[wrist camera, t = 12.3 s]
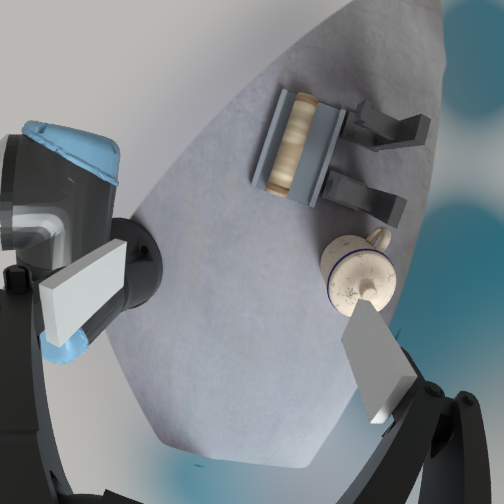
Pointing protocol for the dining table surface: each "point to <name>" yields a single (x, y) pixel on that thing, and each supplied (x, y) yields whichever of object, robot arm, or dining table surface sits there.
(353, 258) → the teacup with lid
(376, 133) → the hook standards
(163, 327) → the dining table surface
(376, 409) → the robot arm
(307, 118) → the wooden cylinder
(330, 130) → the tray
